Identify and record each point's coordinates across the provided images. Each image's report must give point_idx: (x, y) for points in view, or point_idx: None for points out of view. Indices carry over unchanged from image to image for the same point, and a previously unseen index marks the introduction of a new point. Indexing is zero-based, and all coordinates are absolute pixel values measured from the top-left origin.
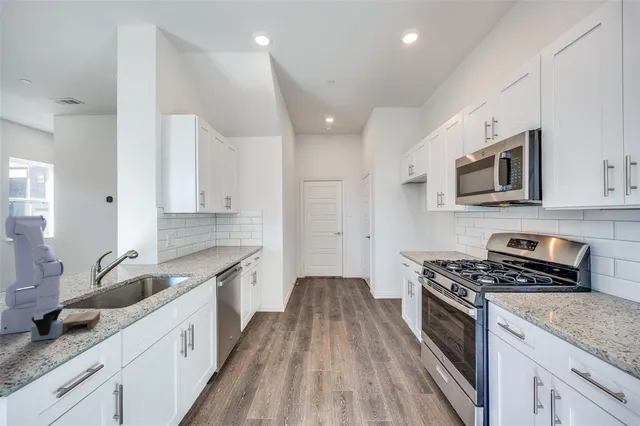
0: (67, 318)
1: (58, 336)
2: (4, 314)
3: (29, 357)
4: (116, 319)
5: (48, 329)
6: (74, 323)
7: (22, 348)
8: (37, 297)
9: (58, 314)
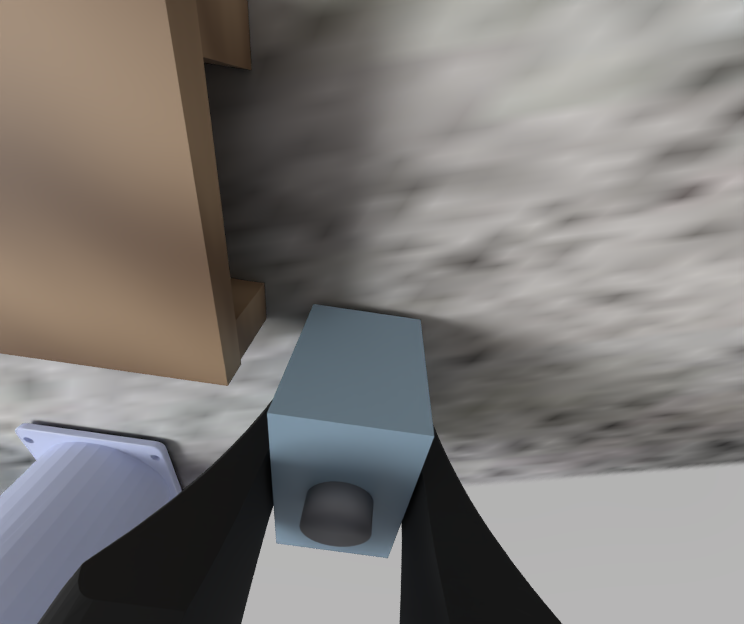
0: (62, 342)
1: (405, 319)
2: None
3: (689, 405)
4: None
5: (440, 447)
6: (222, 245)
7: (468, 445)
8: None
9: (219, 531)
